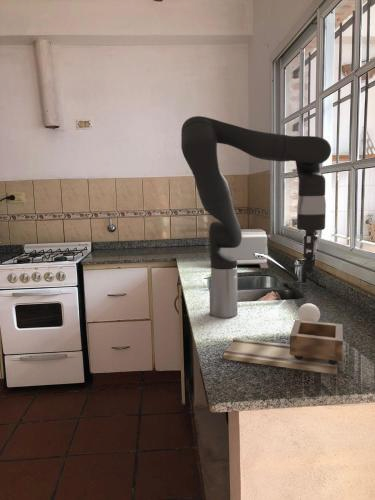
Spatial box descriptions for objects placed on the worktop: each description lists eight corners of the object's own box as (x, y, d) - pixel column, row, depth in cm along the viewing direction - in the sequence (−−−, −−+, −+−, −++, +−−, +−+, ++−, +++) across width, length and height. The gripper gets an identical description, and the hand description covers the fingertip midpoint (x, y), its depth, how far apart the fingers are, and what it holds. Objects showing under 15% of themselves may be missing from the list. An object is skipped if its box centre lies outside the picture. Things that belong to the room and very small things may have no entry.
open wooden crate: (289, 361, 96) (289, 335, 95) (294, 343, 107) (295, 319, 106) (341, 368, 91) (342, 341, 90) (341, 348, 102) (342, 324, 101)
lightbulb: (305, 345, 109) (306, 307, 108) (293, 337, 115) (294, 302, 114) (323, 342, 111) (324, 305, 109) (311, 335, 117) (312, 299, 115)
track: (223, 358, 102) (223, 353, 102) (234, 342, 113) (234, 336, 113) (337, 374, 92) (337, 368, 92) (337, 354, 103) (337, 348, 103)
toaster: (274, 268, 218) (274, 231, 215) (213, 269, 218) (212, 233, 215) (267, 261, 237) (267, 228, 234) (211, 263, 237) (211, 229, 234)
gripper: (324, 214, 100) (322, 275, 102) (326, 211, 113) (324, 265, 115) (294, 214, 102) (293, 274, 105) (299, 211, 115) (298, 264, 118)
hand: (309, 269), depth 110 cm, fingers open, 8 cm apart
